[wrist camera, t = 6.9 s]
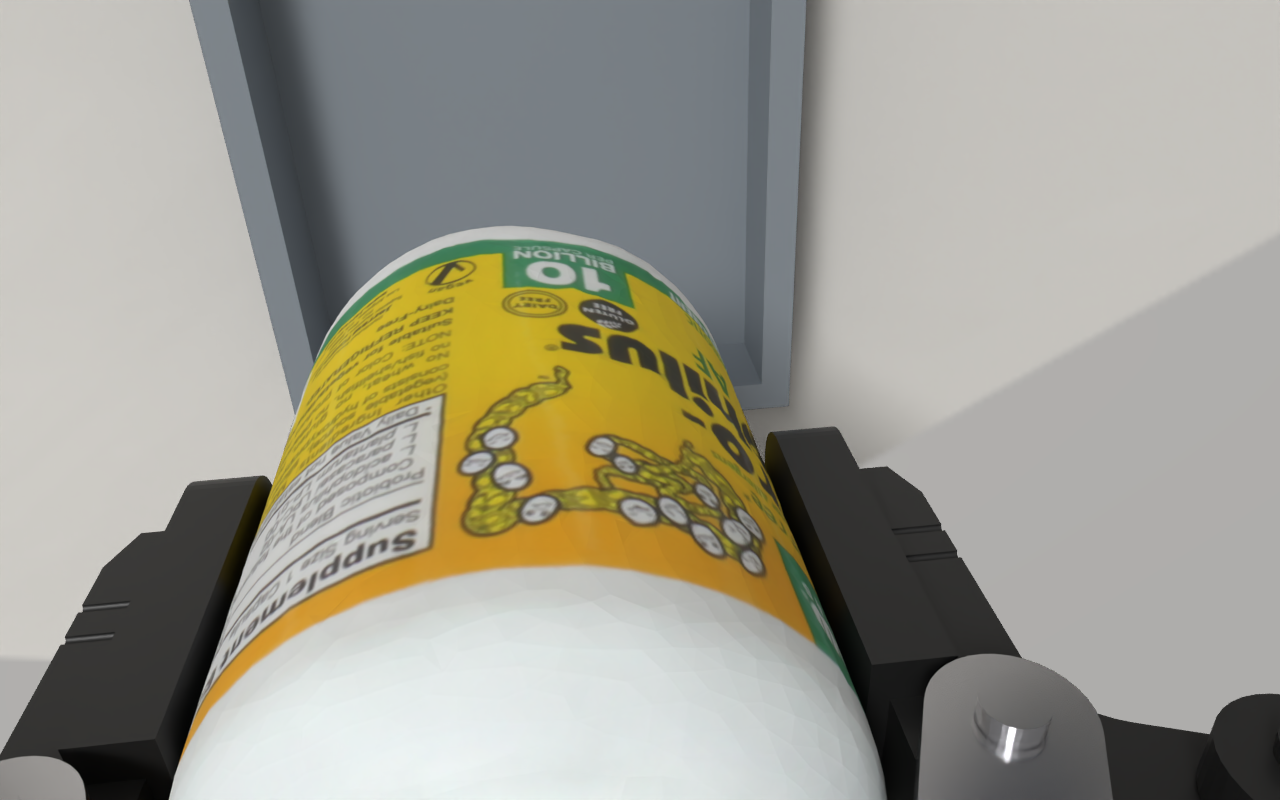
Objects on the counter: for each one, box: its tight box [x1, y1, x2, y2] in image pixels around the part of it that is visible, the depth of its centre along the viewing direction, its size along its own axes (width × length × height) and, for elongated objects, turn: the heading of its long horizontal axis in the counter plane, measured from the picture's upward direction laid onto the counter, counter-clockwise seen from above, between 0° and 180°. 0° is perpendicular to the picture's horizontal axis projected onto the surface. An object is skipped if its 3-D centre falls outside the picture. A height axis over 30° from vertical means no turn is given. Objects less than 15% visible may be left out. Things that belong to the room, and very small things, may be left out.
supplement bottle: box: [169, 226, 887, 800], centre depth 9 cm, size 5×5×10 cm
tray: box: [189, 0, 806, 415], centre depth 18 cm, size 10×15×2 cm
